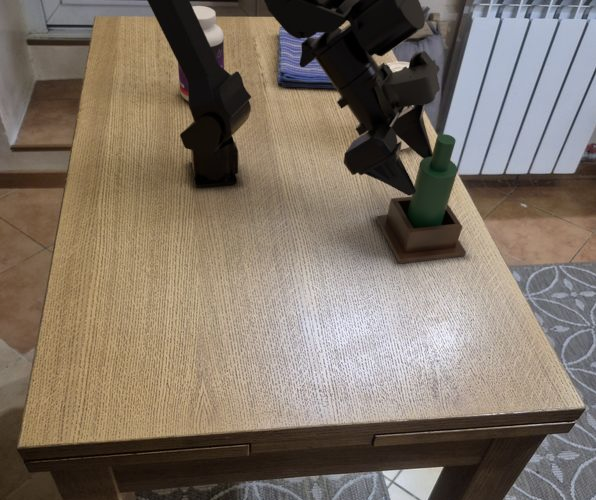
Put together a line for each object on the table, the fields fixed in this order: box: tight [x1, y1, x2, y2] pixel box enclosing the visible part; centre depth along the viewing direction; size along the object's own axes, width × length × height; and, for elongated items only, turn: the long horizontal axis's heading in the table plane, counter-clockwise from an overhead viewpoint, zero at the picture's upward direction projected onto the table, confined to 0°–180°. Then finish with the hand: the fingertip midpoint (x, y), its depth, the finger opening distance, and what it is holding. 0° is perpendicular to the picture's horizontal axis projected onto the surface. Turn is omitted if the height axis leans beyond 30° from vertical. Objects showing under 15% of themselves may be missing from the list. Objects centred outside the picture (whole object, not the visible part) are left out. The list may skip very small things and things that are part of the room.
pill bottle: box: [177, 5, 225, 102], centre depth 107 cm, size 8×8×14 cm
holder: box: [375, 196, 467, 265], centre depth 88 cm, size 10×10×4 cm
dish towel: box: [277, 26, 336, 90], centre depth 123 cm, size 17×24×3 cm
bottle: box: [407, 133, 458, 229], centre depth 83 cm, size 5×5×15 cm
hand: (421, 175), depth 83 cm, fingers open, 9 cm apart
